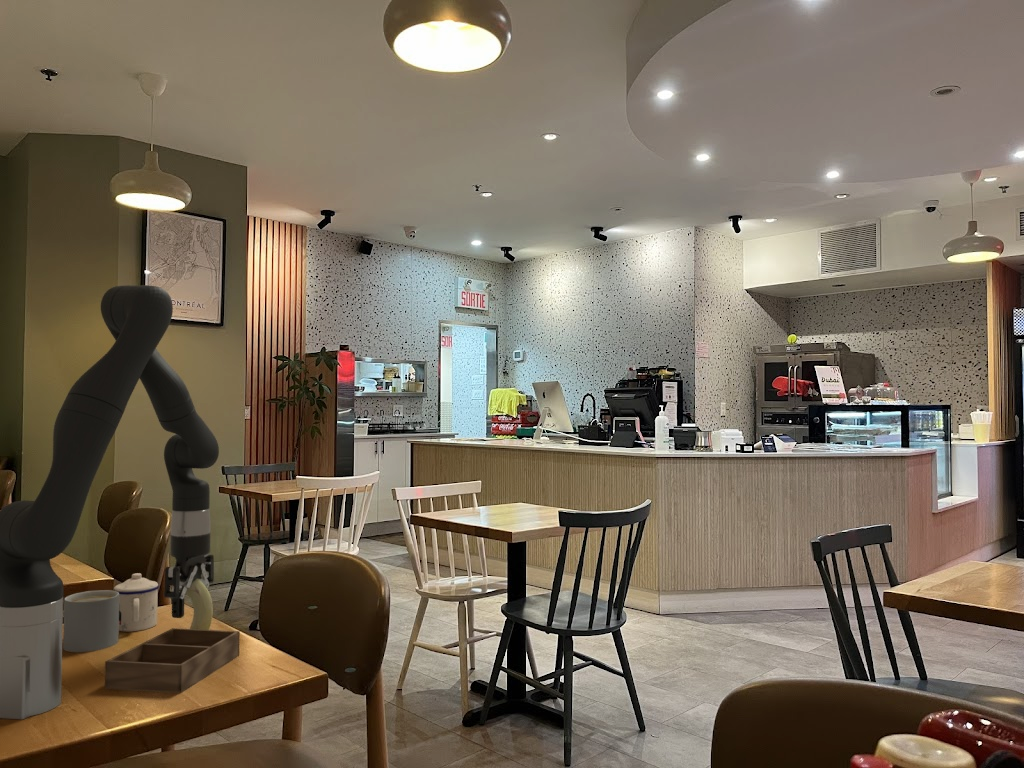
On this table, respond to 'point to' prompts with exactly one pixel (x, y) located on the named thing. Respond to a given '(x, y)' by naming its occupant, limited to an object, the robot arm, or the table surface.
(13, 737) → the table surface
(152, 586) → the teacup with lid
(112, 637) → the coffee mug
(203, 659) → the walnut crate
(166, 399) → the robot arm
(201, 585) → the fruit
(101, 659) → the table surface
